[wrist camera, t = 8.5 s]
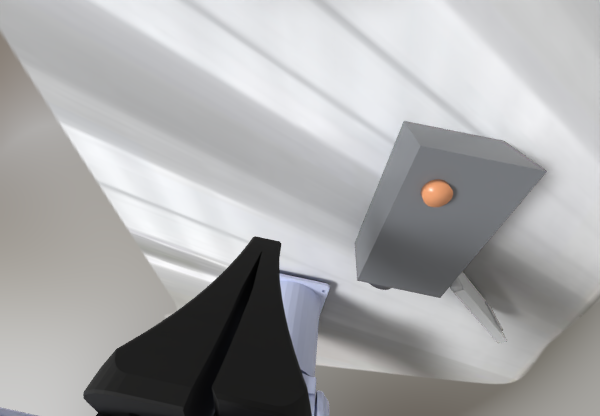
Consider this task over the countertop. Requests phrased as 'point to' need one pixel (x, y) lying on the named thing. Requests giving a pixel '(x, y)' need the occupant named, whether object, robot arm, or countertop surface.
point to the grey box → (438, 207)
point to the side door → (478, 306)
